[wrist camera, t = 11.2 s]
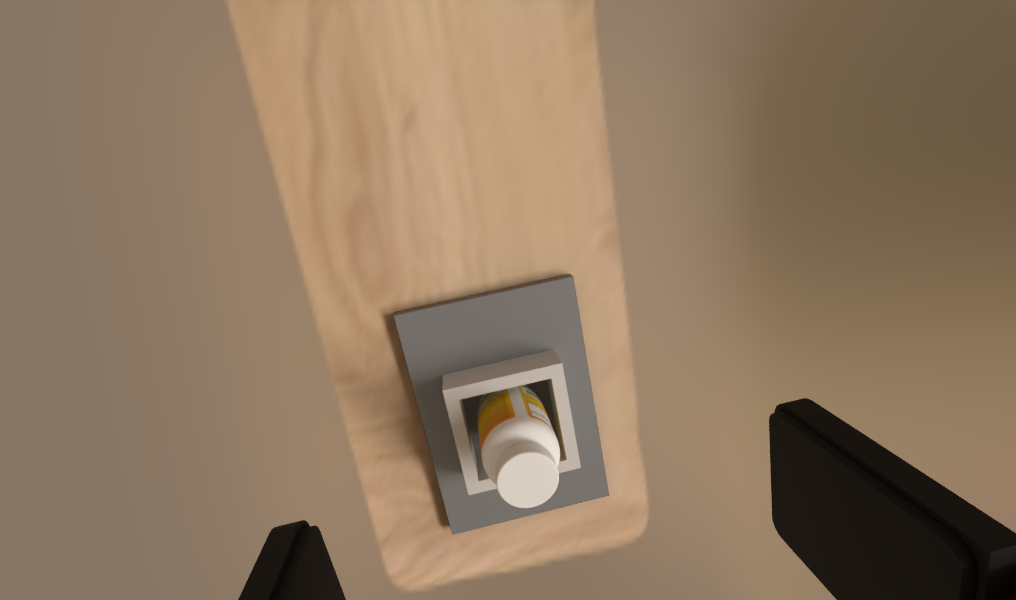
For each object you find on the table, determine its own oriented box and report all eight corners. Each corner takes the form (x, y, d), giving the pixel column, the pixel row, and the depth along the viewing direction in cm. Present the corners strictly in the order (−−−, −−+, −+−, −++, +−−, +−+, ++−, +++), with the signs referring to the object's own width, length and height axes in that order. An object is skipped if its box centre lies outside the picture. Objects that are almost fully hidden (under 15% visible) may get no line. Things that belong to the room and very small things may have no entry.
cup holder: (395, 312, 37) (388, 327, 34) (570, 274, 38) (583, 284, 35) (452, 526, 43) (452, 561, 39) (605, 488, 44) (620, 518, 40)
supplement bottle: (475, 440, 40) (482, 520, 30) (477, 379, 39) (486, 442, 29) (539, 439, 40) (567, 517, 31) (544, 379, 39) (573, 441, 30)
